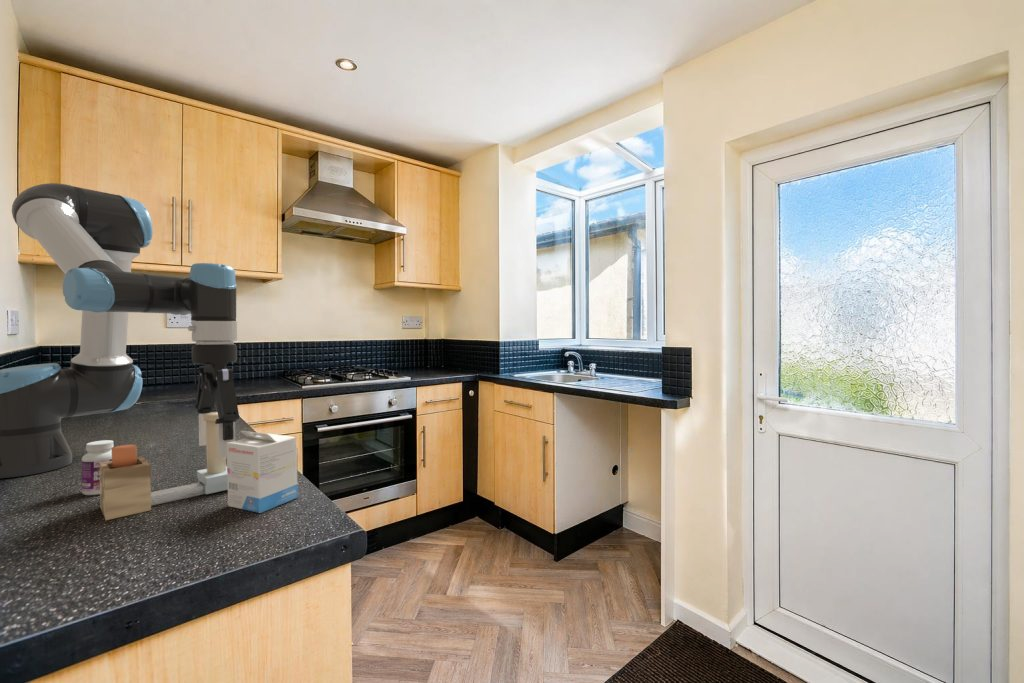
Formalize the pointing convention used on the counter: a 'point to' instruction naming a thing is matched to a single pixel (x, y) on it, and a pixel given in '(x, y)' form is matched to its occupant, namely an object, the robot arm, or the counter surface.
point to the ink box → (261, 471)
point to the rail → (177, 493)
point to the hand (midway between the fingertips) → (216, 450)
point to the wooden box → (125, 489)
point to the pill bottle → (94, 465)
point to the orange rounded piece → (124, 456)
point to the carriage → (213, 459)
